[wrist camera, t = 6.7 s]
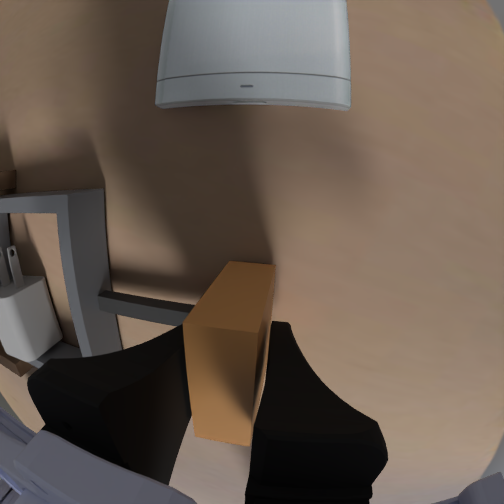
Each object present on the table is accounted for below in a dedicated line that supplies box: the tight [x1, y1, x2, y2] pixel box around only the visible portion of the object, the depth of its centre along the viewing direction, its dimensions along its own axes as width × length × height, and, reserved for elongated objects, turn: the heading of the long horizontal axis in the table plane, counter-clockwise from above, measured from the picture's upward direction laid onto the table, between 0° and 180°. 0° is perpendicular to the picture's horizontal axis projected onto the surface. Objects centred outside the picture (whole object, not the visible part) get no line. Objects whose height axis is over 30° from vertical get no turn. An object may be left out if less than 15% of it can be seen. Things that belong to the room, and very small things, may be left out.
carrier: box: [0, 189, 276, 446], centre depth 12 cm, size 11×19×6 cm, turn 87°
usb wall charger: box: [0, 245, 63, 362], centre depth 14 cm, size 4×7×4 cm, turn 5°
